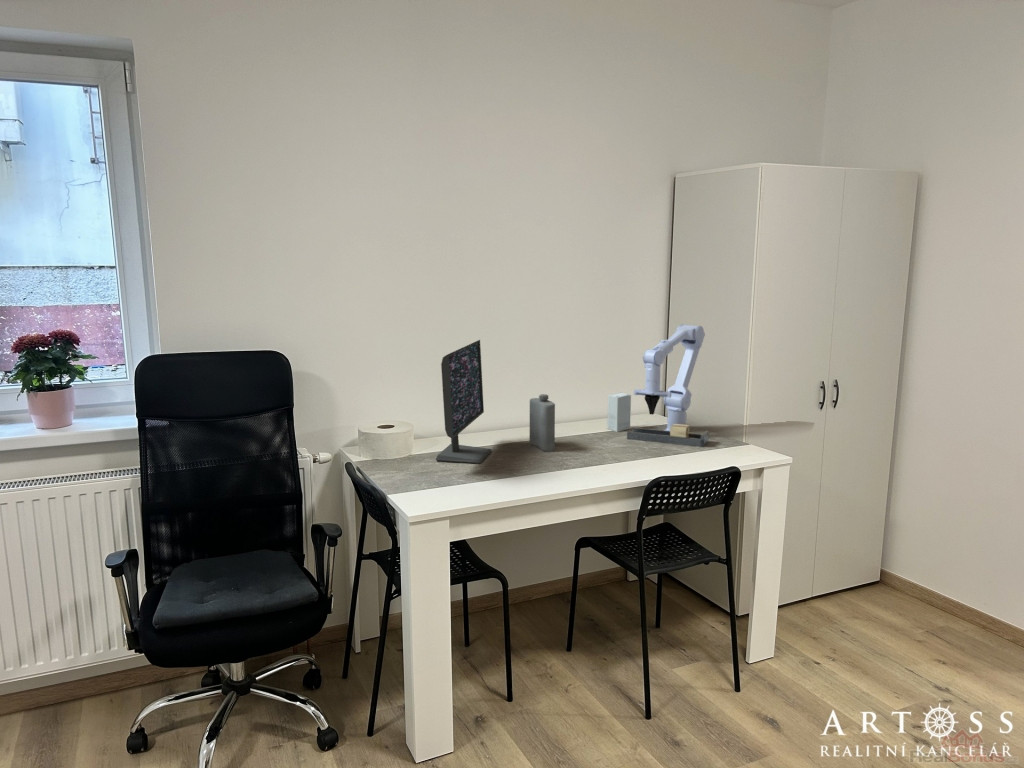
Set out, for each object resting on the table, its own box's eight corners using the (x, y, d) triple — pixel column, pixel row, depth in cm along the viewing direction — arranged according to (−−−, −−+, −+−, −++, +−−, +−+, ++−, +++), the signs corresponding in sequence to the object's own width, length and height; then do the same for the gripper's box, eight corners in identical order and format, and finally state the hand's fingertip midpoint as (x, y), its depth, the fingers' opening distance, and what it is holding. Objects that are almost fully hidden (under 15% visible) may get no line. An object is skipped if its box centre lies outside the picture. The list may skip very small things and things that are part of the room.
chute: (633, 434, 310) (633, 423, 309) (708, 441, 297) (708, 430, 296) (626, 438, 302) (627, 427, 301) (703, 447, 289) (704, 435, 289)
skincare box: (620, 426, 323) (621, 392, 321) (630, 429, 319) (631, 394, 316) (606, 429, 318) (607, 394, 316) (617, 432, 313) (617, 396, 311)
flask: (558, 450, 285) (559, 397, 281) (544, 452, 282) (545, 398, 279) (541, 441, 298) (541, 391, 295) (527, 443, 296) (527, 392, 292)
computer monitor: (470, 474, 254) (469, 354, 247) (424, 471, 257) (421, 353, 250) (499, 443, 296) (499, 339, 289) (458, 441, 299) (457, 339, 292)
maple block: (673, 436, 301) (674, 423, 300) (689, 437, 299) (689, 425, 298) (669, 439, 296) (670, 426, 295) (685, 441, 293) (685, 428, 293)
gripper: (632, 380, 301) (631, 414, 303) (668, 382, 295) (667, 417, 297) (636, 377, 307) (636, 410, 310) (672, 380, 301) (671, 413, 304)
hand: (651, 413), depth 304 cm, fingers closed
